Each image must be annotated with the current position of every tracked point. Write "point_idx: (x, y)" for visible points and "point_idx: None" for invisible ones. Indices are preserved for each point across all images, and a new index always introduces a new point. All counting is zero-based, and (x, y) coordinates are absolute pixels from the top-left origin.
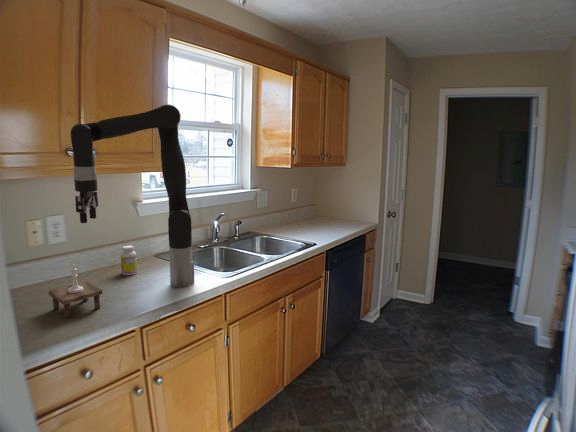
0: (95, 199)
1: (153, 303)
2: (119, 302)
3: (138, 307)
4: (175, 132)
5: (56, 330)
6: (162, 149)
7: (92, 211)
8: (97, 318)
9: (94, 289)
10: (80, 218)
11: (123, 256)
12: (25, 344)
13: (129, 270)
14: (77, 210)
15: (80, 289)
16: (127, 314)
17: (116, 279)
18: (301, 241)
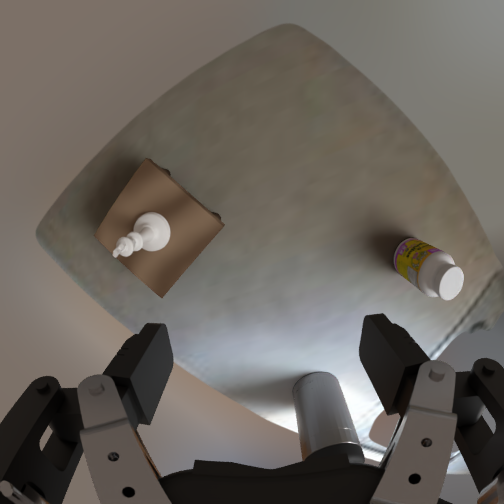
0: (478, 469)
1: (210, 365)
2: (209, 302)
3: (188, 345)
4: None
5: (84, 233)
6: None
7: (387, 378)
8: (131, 286)
9: (164, 277)
10: (119, 352)
11: (422, 266)
12: (48, 210)
13: (399, 268)
14: (37, 397)
15: (145, 249)
16: None
17: (368, 238)
18: None
